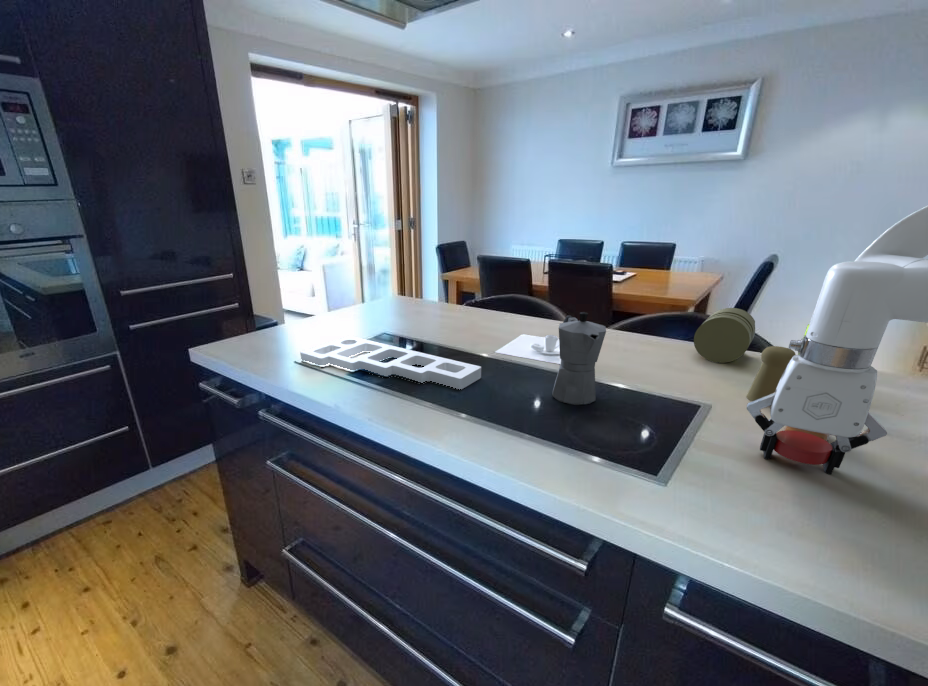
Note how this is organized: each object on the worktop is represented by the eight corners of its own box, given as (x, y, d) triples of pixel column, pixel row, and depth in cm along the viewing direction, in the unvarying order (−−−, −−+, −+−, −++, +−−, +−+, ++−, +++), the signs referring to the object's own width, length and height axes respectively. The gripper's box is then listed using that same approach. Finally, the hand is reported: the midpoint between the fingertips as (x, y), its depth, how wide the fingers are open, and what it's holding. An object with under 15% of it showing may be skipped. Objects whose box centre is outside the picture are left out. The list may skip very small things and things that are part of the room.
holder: (481, 377, 103) (482, 366, 102) (436, 404, 91) (435, 392, 90) (350, 344, 130) (349, 335, 129) (300, 361, 117) (299, 352, 116)
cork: (788, 407, 85) (806, 354, 81) (751, 403, 87) (767, 351, 83) (777, 395, 90) (793, 344, 86) (742, 392, 92) (757, 342, 88)
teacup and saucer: (527, 352, 119) (528, 337, 117) (537, 344, 125) (539, 330, 123) (559, 357, 114) (561, 342, 113) (568, 349, 120) (570, 335, 119)
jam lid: (772, 456, 67) (776, 444, 66) (770, 437, 72) (774, 426, 71) (830, 469, 63) (836, 457, 63) (824, 449, 68) (829, 437, 68)
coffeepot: (609, 408, 87) (623, 319, 80) (562, 410, 86) (572, 321, 79) (579, 379, 101) (589, 301, 94) (538, 381, 101) (545, 303, 94)
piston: (749, 354, 113) (762, 311, 109) (742, 367, 105) (755, 321, 101) (699, 345, 120) (709, 305, 116) (689, 357, 112) (699, 314, 108)
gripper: (759, 350, 63) (728, 457, 70) (934, 374, 54) (877, 493, 61) (758, 337, 69) (729, 437, 76) (916, 356, 60) (866, 467, 67)
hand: (795, 461), depth 68 cm, fingers closed on jam lid, 6 cm apart
